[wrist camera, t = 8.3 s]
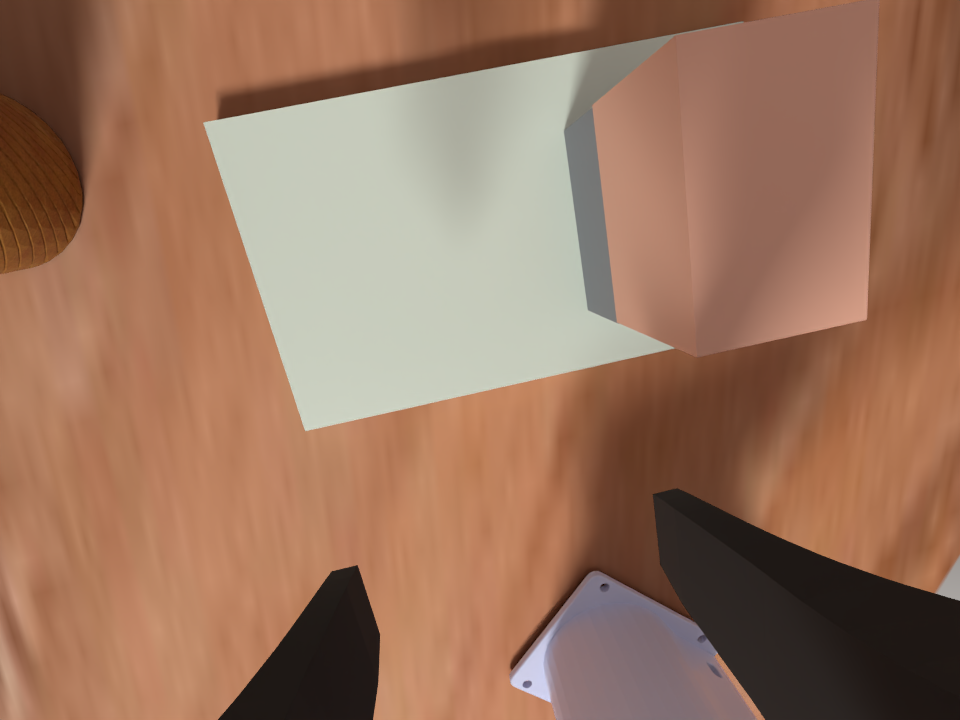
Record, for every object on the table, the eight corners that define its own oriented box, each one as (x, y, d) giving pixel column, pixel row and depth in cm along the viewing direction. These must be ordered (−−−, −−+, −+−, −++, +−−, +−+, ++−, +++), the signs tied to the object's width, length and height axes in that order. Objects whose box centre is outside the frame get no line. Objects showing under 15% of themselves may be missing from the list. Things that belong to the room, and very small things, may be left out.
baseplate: (726, 33, 18) (743, 21, 17) (738, 326, 21) (753, 330, 20) (216, 129, 17) (203, 122, 16) (311, 421, 20) (305, 431, 19)
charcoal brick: (676, 108, 17) (729, 80, 14) (689, 288, 19) (738, 297, 16) (563, 130, 17) (592, 106, 14) (587, 310, 19) (617, 323, 16)
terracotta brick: (729, 78, 14) (879, -2, 10) (737, 296, 16) (866, 319, 11) (592, 104, 14) (675, 35, 9) (616, 322, 16) (696, 357, 11)
